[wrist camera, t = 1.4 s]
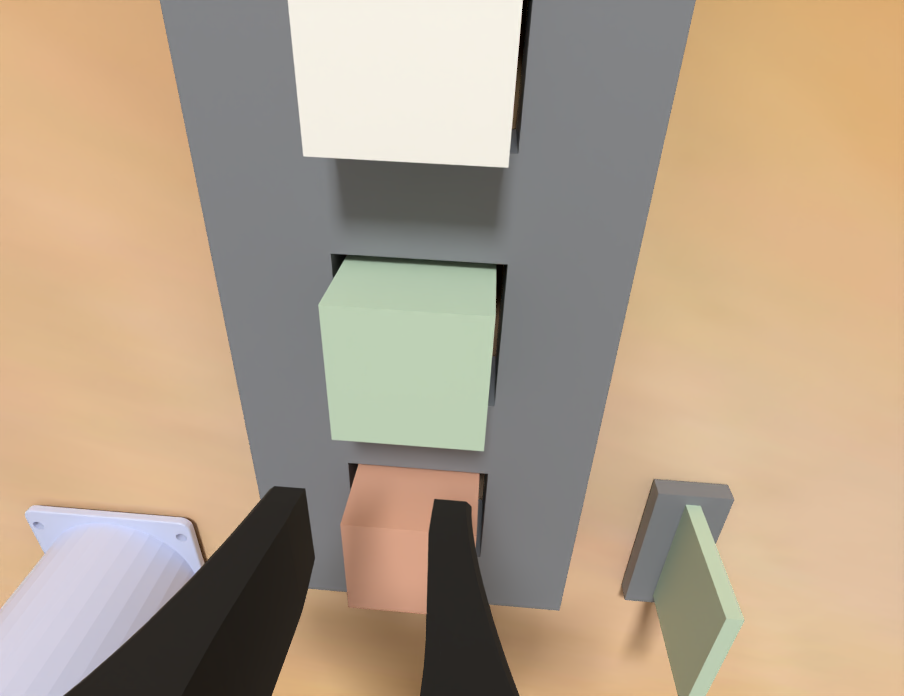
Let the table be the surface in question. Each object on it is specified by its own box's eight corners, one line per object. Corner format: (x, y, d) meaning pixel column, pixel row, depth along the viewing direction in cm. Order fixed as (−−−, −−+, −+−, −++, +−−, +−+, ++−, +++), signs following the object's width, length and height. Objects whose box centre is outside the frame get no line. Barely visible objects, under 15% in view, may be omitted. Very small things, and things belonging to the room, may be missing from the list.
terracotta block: (474, 529, 24) (469, 617, 21) (369, 520, 24) (348, 607, 21) (480, 450, 22) (476, 536, 18) (365, 441, 22) (340, 524, 19)
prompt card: (685, 590, 27) (724, 721, 23) (621, 584, 28) (647, 713, 23) (727, 484, 24) (786, 614, 19) (654, 479, 24) (693, 606, 19)
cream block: (507, 128, 16) (508, 167, 12) (345, 120, 16) (303, 156, 12) (523, -73, 13) (530, -94, 10) (333, -80, 13) (277, -103, 10)
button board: (553, 551, 27) (559, 610, 24) (298, 529, 27) (278, 585, 25) (704, -216, 13) (754, -266, 10) (179, -230, 13) (103, -281, 11)
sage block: (487, 372, 20) (483, 451, 16) (360, 363, 20) (331, 439, 17) (496, 252, 17) (495, 316, 14) (353, 244, 18) (318, 304, 14)
